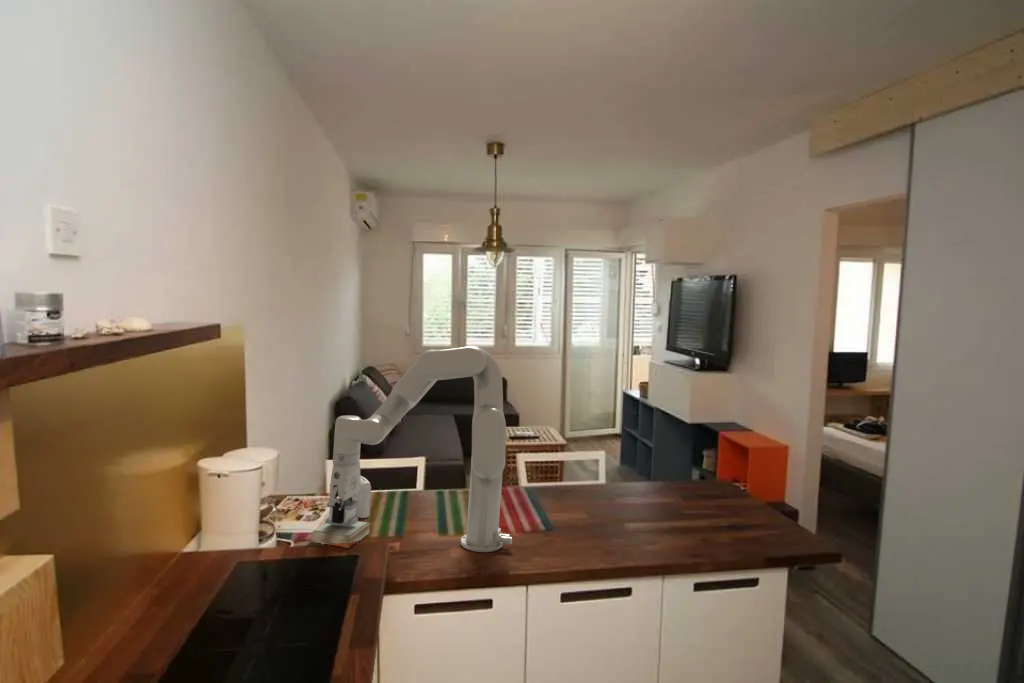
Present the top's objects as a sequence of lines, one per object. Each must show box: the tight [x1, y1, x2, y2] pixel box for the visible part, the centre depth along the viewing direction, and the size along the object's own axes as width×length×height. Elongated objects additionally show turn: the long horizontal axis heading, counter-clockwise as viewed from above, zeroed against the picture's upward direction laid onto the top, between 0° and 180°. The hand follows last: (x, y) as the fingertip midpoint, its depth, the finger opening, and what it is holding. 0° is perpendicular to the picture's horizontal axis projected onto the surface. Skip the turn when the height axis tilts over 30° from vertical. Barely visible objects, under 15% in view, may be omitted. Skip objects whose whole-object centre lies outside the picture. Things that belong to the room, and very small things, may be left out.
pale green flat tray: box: [310, 520, 371, 545], centre depth 156 cm, size 12×12×3 cm
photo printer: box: [354, 475, 372, 519], centre depth 176 cm, size 10×4×12 cm, turn 39°
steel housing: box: [325, 499, 359, 527], centre depth 156 cm, size 8×5×6 cm, turn 78°
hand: (342, 518), depth 156 cm, fingers closed on steel housing, 5 cm apart
